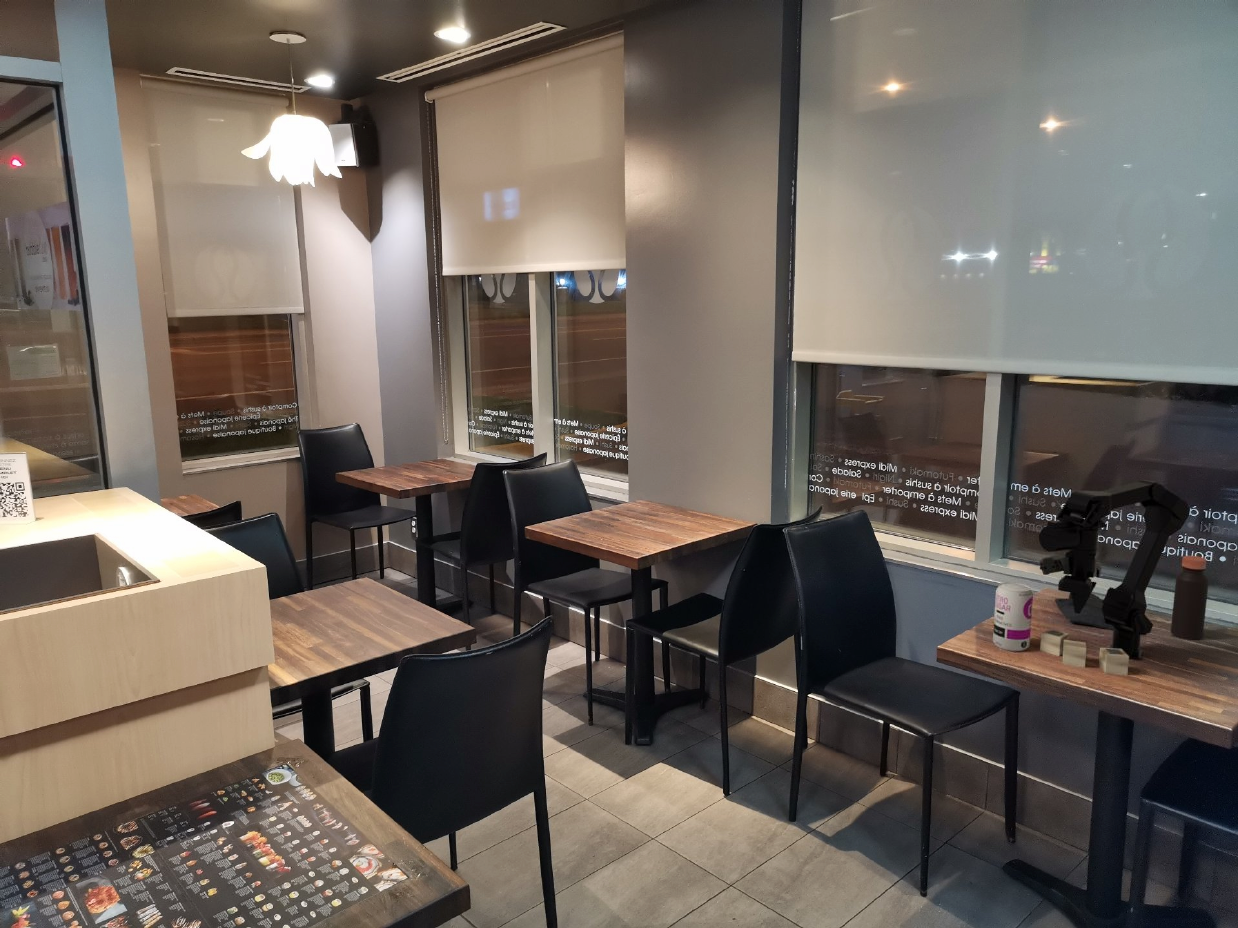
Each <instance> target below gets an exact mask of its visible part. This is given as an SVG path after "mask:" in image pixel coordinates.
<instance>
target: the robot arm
mask: <svg viewBox="0 0 1238 928" xmlns="http://www.w3.org/2000/svg"><path fill="white" fill-rule="evenodd" d="M1137 504H1140V505H1141V506H1142V507H1143V508H1144V513H1143V522H1144V526H1145V530H1144V532H1143V535H1142V536H1141V539H1140V542H1139V543H1138V545H1137V548H1136V550H1135V552H1134V555H1133V557H1132V559H1131V562H1130V564H1129V566H1128V567H1127V571H1126V572H1125V575H1124V577H1123V580H1122V582H1121V583H1120V584H1119V585H1118V586H1116V587H1115V588H1114V587H1111V586H1110V587H1109V588H1108V589H1107V591H1106V594H1105V595H1104V596H1105V597H1104V598H1103V599H1102V600H1103V601H1102V603H1103V605H1102V611H1103V616H1104V620H1105V624H1109V625H1111V626H1114V627H1113V630H1112V639H1111V641H1112V642H1111V644H1110V646H1109V648H1114V649H1122V650H1123V651H1124V652H1125V653H1126V654H1127V655H1128V656H1129V659H1134V660H1140V659H1141V656H1142V653H1143V649H1141V647H1140V646H1141V639H1142V636H1147V634H1150V633H1151V632H1152V629H1153V627H1154V624H1153V623H1152V621H1151V620H1150V619H1149V618H1148V617H1147V615H1146V610H1147V607H1148V604H1147V600H1146V595H1145V592H1146V590H1147V588H1148V585H1149V584H1150V581H1151V579H1152V576H1153V574H1154V572H1155V569H1156V567H1157V566H1158V563H1159V560H1160V558H1161V557H1162V554H1163V551H1164V550H1165V548H1166V545H1167V542H1168V540H1169V538H1170V537H1171V536H1173V535H1174V534H1175V533H1177V532H1179V531H1180V530H1181V529H1182V528H1183V526H1184V525H1185V523H1186V521H1187V520H1188V517H1189V516H1190V512H1191V509H1190V507H1189V504H1188V502H1187V501H1186V500H1185V499H1182V498H1181V497H1180V496H1178V495H1176V494H1175V493H1173V492H1172V491H1170V490H1168V489H1166V488H1165V486H1164V485H1162V484H1161V483H1159V482H1156V481H1152V480H1146V479H1140V480H1139V479H1138V480H1136V481H1135V482H1133V483H1129V484H1125V485H1121V486H1117V487H1113V488H1109V489H1105V490H1100V491H1099V490H1098V491H1097V490H1075V491H1073V492H1071V493H1070V494H1069V497H1068V499H1067V500H1066V501H1065V503H1064V505H1063V506H1062V507H1061V509H1060V511H1059V513H1057V515H1056V516H1055V520H1048V521H1047V523H1046V526H1044V527H1043V528H1041V530H1040V533H1038V541H1039V544H1040V546H1041V548H1042V549H1043V550H1044V551H1046V552H1050V553H1052V552H1061V551H1066V552H1065V554H1058V555H1057V554H1056V555H1052V556H1047V557H1043V558H1041V559H1040V560H1039V565H1040V566H1039V570H1041V571H1042V575H1043V576H1044V575H1045V576H1047V575H1051V574H1054V573H1060V572H1063V573H1062V574H1063V575H1064V576H1062V577H1061V578H1060V580H1059V581H1058V585H1057V586H1058V588H1057V590H1058V591H1059V592H1066V593H1069V594H1070V593H1071V597H1072V602H1073V607H1074V612H1075V613H1078V614H1080V613H1081V611H1082V609H1083V607H1084V605H1085V604H1086V602H1087V600H1088V598H1089V597H1090V595H1091V593H1092V594H1093V592H1094V591H1093V590H1094V589H1095V587H1096V585H1098V583H1097V582H1096V581H1092V579H1093V578H1094V577H1095V576H1096V578H1098V579H1100V578H1101V576H1102V568H1103V567H1101V565H1100V564H1099V563H1098V562H1097V558H1098V556H1099V550H1098V546H1099V533H1100V529H1105V528H1107V526H1108V524H1107V523H1105V522H1104V521H1103V519H1104V518H1106V517H1109V516H1110V515H1111V512H1112V511H1114V510H1116V509H1119V508H1124V507H1128V506H1132V505H1137ZM1091 578H1092V579H1091Z"/></svg>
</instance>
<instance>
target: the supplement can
mask: <svg viewBox="0 0 1238 928" xmlns="http://www.w3.org/2000/svg"><path fill="white" fill-rule="evenodd" d="M1033 600H1034V592H1032V589H1031V587H1030V586H1028V585H1026V584H1024V583H1020V582H1001V583H1000V584H999V585H998V587H997V588H996V590H995V600H994V602H995V603H994V604H995V605H994V614H993V616H994V618H993V632H992V642H993V644H994V645H995V646H996V647H997V648H1000V649H1002V650H1006V651H1010V652H1021V651H1026V650H1027V649H1028V648H1029V647H1030V643H1031V631H1032V617H1033V604H1034V603H1033Z"/></svg>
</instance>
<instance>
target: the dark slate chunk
mask: <svg viewBox="0 0 1238 928" xmlns="http://www.w3.org/2000/svg"><path fill="white" fill-rule="evenodd" d="M1103 600H1104V599H1103V598H1100V597H1099V596H1098V595H1095V594H1094V593H1093V592H1092V593H1091V595H1090V597H1089V598H1088V600H1087V602H1086V604H1085V605H1084V607H1083V609H1082V611H1081V613H1080V614H1078V613H1075V612H1074V607H1073V602H1072V597H1071V593H1070V592H1069V595H1068V598H1055V599H1054V602H1055V604H1056V606H1057V607H1058V609H1059V611H1061V613H1062V614H1063V615H1064V616H1065V618H1066V619H1067V620H1068V621H1069V622H1071V623H1073V624H1076V623H1078V624H1077V625H1079V624H1080V625H1083V624H1084V625H1086V626H1090V625H1091V626H1090V627H1095V628H1099V627H1100V628H1101V629H1104V628H1105V629H1104V630H1111V631H1113V627H1114V626H1111V625H1109V624H1105V620H1104V616H1103V611H1102V605H1103V603H1102V601H1103Z"/></svg>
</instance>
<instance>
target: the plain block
mask: <svg viewBox="0 0 1238 928" xmlns="http://www.w3.org/2000/svg"><path fill="white" fill-rule="evenodd" d="M1086 657H1087V643H1086V642H1083V641H1077V640H1076V641H1075V640H1070V639H1069V640H1064V646H1063V654H1062V665H1065V666H1070V665H1071V666H1072V667H1079V668H1083V669H1084V668H1086ZM1071 666H1070V667H1071Z"/></svg>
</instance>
